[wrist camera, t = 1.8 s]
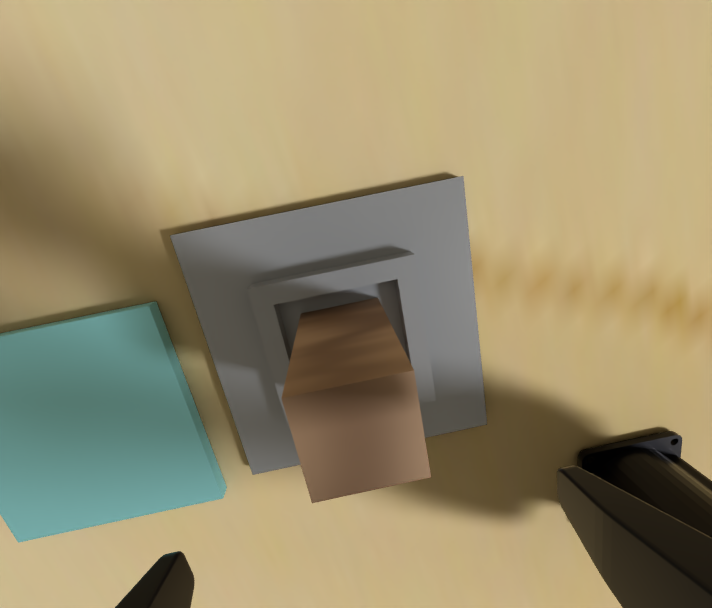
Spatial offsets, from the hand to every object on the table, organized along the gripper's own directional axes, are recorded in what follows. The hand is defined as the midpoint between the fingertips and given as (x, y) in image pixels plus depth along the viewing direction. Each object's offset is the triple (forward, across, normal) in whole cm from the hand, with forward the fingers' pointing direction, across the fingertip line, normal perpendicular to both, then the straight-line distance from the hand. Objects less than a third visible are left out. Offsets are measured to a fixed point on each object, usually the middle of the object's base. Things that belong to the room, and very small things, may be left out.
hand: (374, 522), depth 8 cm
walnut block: (+11, 0, 0) cm, 11 cm away
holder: (+12, 0, 0) cm, 12 cm away
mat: (+12, +15, +2) cm, 19 cm away
